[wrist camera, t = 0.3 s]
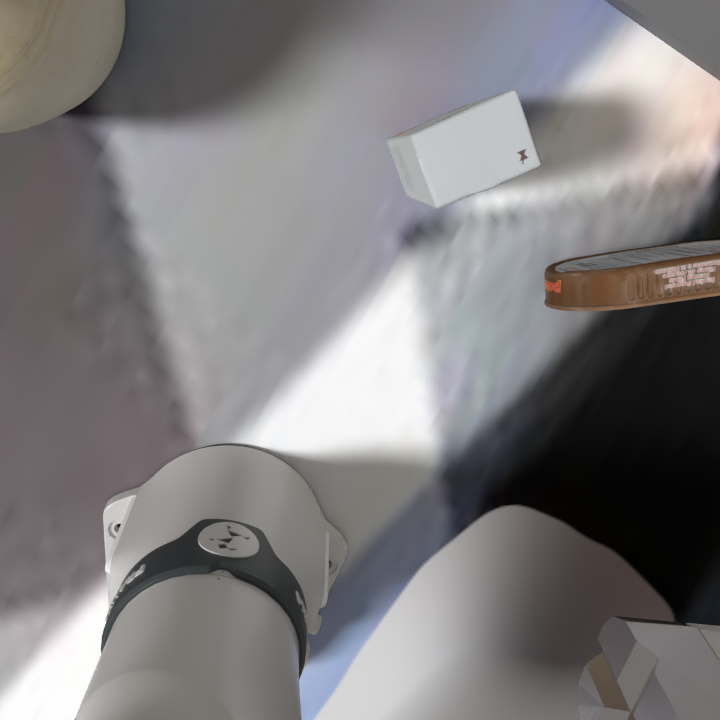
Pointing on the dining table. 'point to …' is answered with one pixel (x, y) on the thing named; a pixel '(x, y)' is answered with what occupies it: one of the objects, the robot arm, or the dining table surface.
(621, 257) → the tin
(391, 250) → the dining table surface
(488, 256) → the dining table surface
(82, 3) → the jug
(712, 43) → the gauge board
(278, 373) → the dining table surface
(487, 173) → the skincare box
